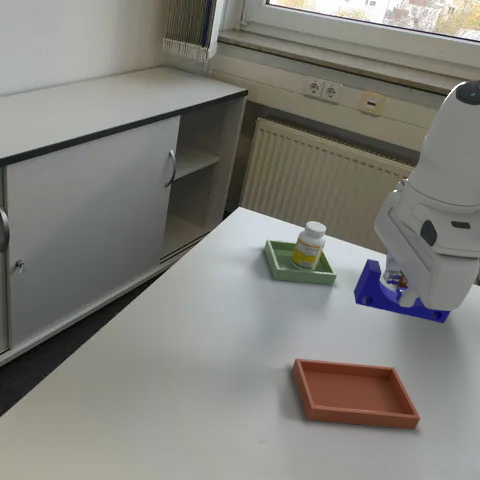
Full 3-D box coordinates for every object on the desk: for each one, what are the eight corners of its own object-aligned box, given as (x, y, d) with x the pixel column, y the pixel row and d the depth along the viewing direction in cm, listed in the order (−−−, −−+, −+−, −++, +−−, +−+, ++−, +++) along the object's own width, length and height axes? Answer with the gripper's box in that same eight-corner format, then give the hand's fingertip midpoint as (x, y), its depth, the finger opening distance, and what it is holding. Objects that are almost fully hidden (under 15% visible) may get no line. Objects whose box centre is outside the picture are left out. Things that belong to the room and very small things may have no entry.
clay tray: (388, 377, 89) (394, 367, 88) (414, 429, 81) (420, 418, 79) (291, 368, 89) (295, 358, 88) (307, 419, 81) (311, 408, 79)
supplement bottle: (303, 274, 111) (316, 235, 106) (285, 260, 115) (296, 222, 110) (321, 268, 114) (335, 230, 109) (303, 255, 118) (315, 217, 112)
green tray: (318, 253, 120) (321, 244, 118) (333, 284, 110) (337, 275, 109) (264, 248, 119) (266, 239, 118) (274, 279, 110) (277, 269, 109)
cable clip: (436, 304, 80) (453, 271, 77) (443, 323, 76) (462, 290, 73) (352, 285, 82) (366, 253, 79) (355, 303, 78) (370, 270, 75)
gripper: (382, 171, 79) (351, 249, 86) (447, 249, 61) (401, 339, 69) (425, 175, 79) (390, 253, 86) (502, 255, 61) (450, 344, 69)
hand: (396, 292), depth 77 cm, fingers closed on cable clip, 4 cm apart
